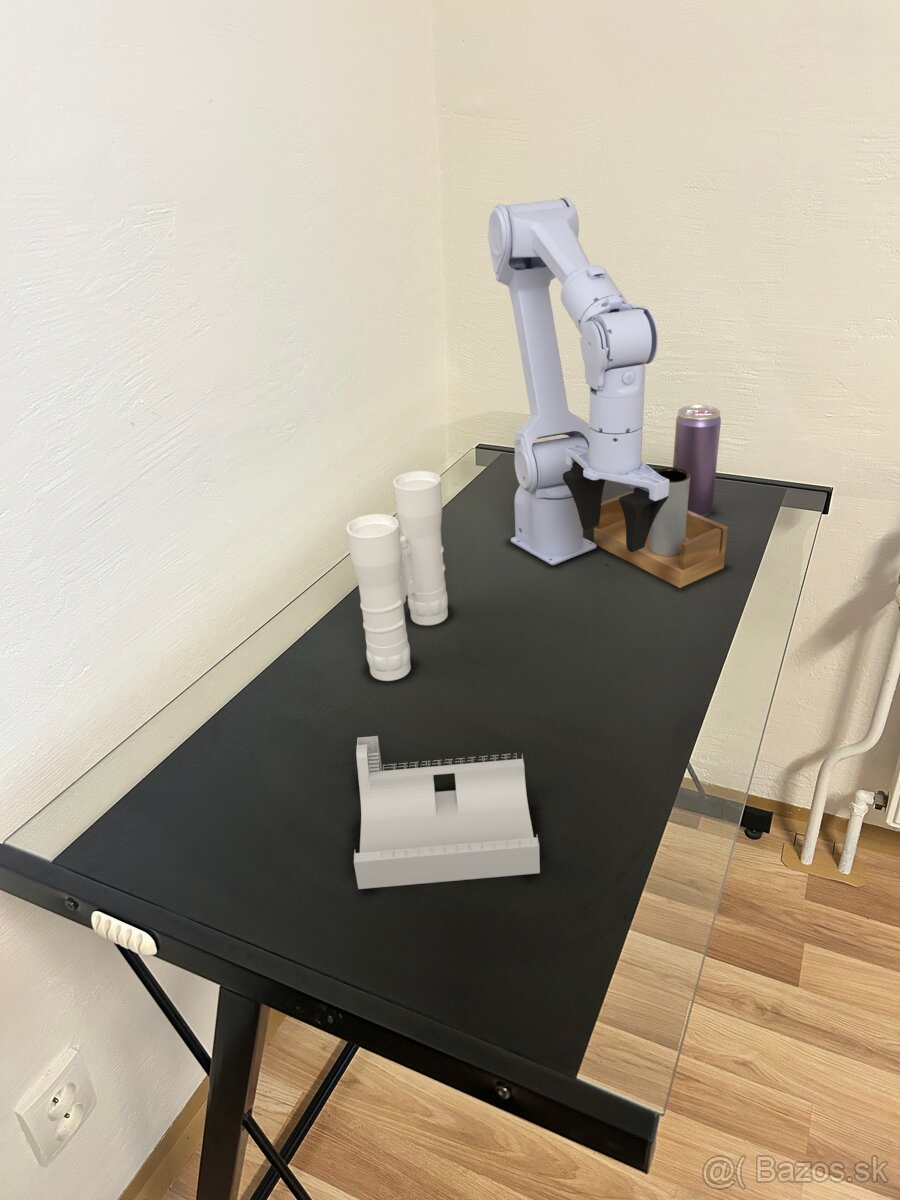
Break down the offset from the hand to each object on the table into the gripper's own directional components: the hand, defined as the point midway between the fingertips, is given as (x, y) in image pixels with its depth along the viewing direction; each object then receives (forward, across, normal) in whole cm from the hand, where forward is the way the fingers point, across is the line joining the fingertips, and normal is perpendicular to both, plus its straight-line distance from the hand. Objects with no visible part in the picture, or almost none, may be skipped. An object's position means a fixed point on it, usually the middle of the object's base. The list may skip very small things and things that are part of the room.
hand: (612, 537), depth 102 cm
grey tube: (+7, -3, +13) cm, 15 cm away
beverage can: (+10, -12, +27) cm, 31 cm away
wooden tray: (+10, -6, +14) cm, 18 cm away
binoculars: (+10, -10, -23) cm, 27 cm away
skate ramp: (+10, +17, -36) cm, 41 cm away
